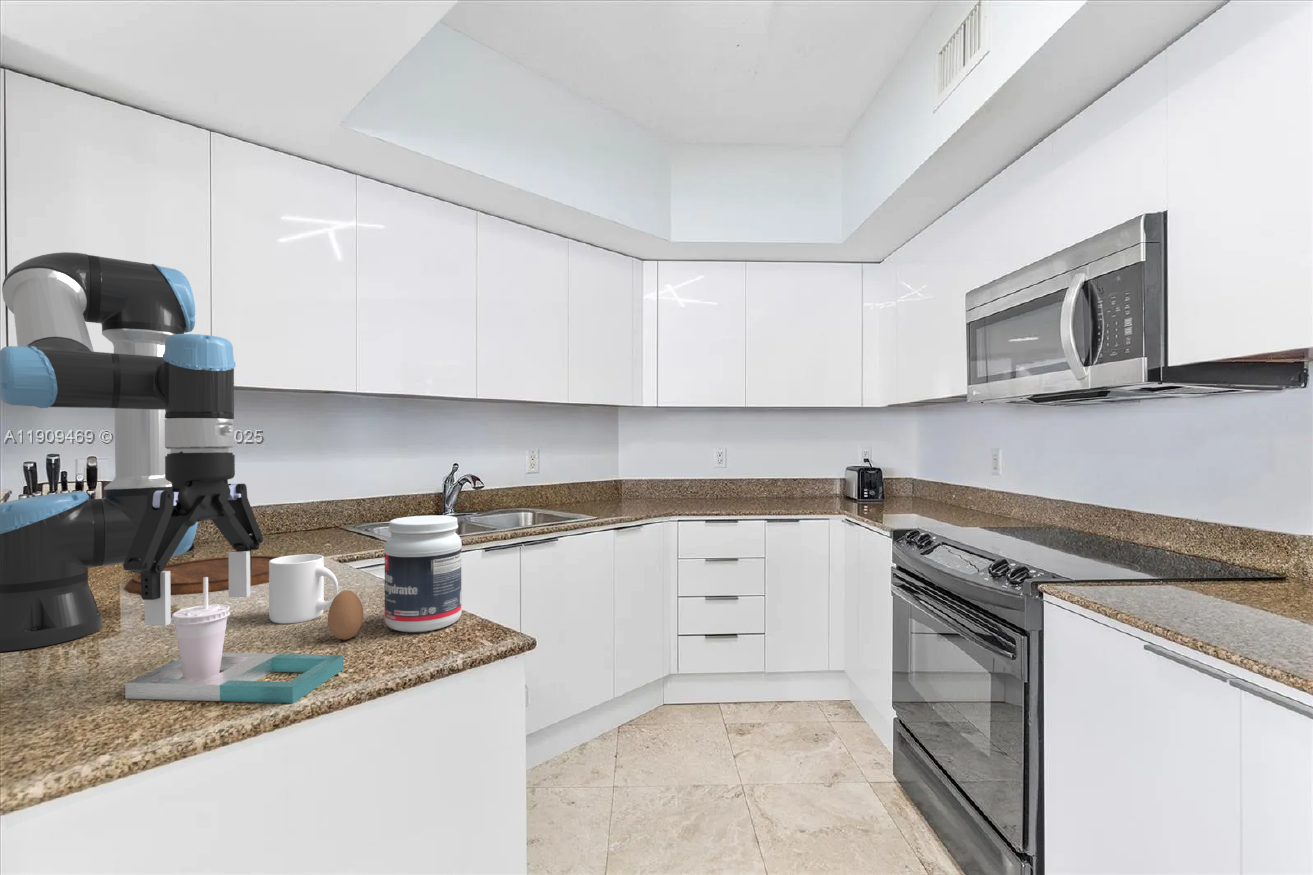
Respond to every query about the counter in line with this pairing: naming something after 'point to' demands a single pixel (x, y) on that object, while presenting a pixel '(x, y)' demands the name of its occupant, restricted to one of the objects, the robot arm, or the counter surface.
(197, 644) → the smoothie
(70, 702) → the counter surface
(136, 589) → the cutting board
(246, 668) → the rail
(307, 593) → the mug
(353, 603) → the egg
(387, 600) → the supplement tub
